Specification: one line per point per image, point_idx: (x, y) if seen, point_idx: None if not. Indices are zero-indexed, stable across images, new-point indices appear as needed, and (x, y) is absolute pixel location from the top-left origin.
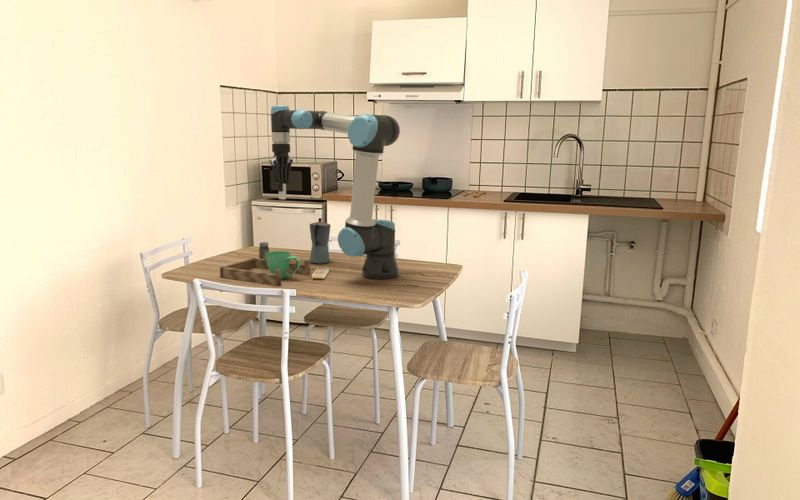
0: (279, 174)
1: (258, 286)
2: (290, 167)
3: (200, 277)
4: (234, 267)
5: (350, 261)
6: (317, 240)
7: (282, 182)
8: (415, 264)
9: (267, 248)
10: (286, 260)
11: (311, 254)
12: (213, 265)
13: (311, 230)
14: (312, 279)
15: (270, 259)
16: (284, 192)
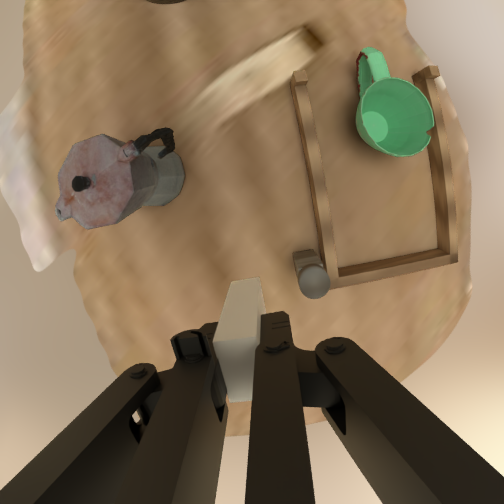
0: (366, 407)
1: (449, 114)
2: (20, 484)
3: (463, 288)
4: (417, 258)
5: (97, 120)
6: (149, 161)
7: (280, 343)
8: (52, 6)
9: (309, 264)
10: (388, 84)
11: (171, 188)
12: None
13: (142, 188)
14: (324, 46)
15: (427, 116)
16: (248, 298)
